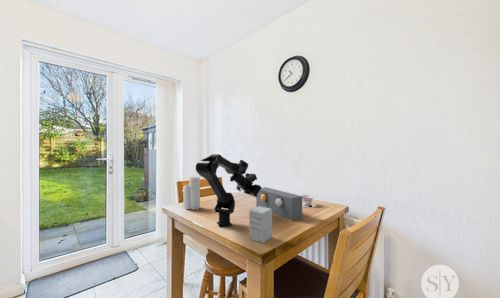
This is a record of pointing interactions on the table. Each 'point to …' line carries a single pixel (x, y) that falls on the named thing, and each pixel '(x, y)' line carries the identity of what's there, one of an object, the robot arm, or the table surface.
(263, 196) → the orange button
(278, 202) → the cream button
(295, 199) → the console
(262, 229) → the supplement box
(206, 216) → the table surface
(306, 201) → the teacup
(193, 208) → the candle
